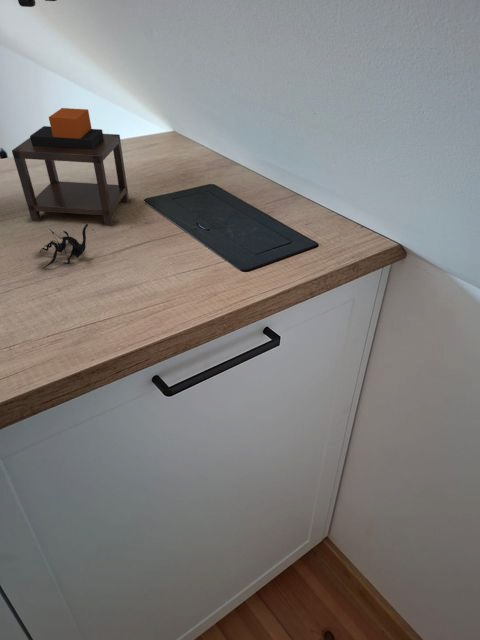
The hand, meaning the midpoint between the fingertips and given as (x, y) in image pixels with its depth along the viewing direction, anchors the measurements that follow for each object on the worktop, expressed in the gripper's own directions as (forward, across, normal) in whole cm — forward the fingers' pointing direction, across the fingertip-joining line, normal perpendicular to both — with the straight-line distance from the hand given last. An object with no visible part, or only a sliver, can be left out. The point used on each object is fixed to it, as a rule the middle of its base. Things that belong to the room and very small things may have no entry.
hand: (39, 3), depth 75 cm
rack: (+30, +7, +3) cm, 31 cm away
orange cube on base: (+18, +7, +3) cm, 20 cm away
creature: (+30, +24, +6) cm, 39 cm away
